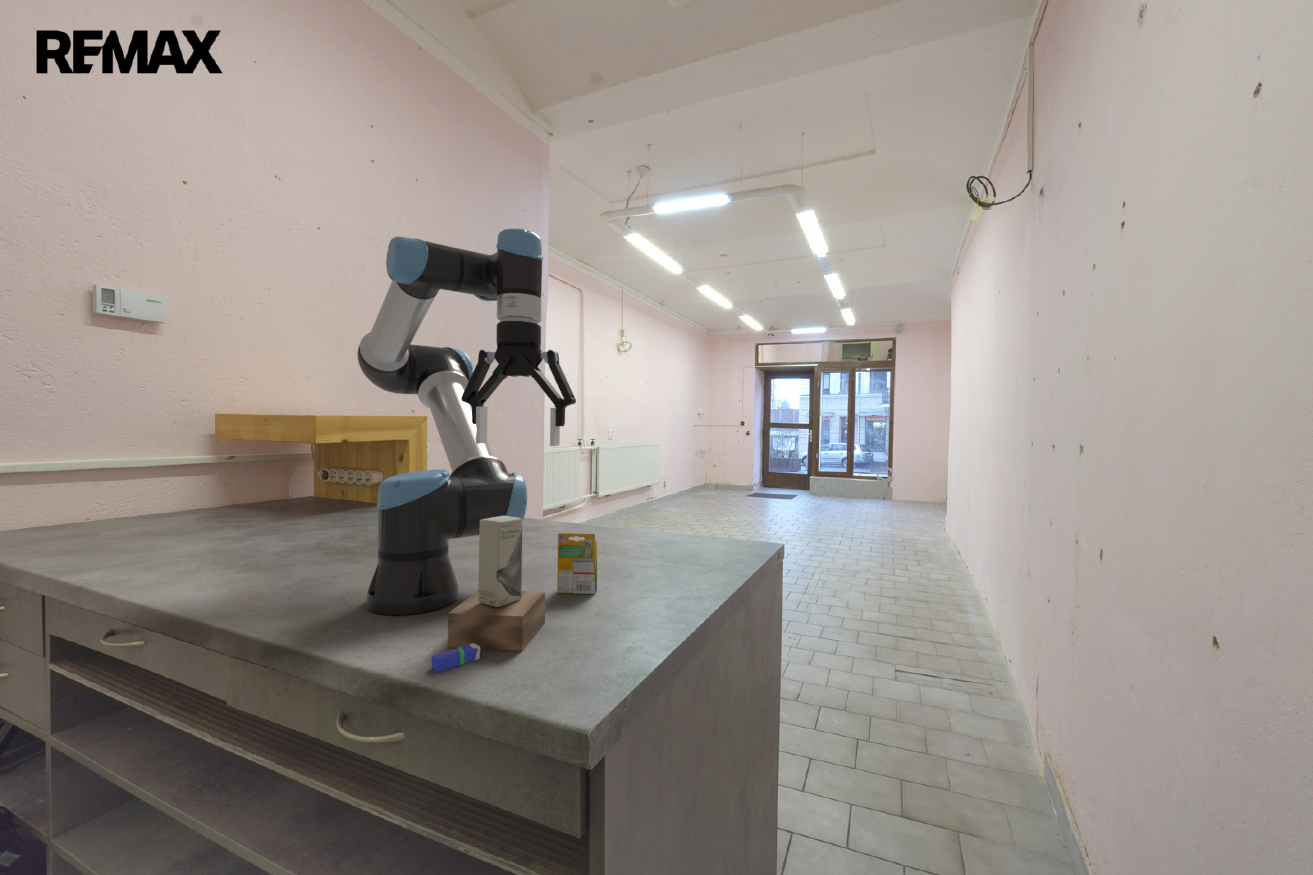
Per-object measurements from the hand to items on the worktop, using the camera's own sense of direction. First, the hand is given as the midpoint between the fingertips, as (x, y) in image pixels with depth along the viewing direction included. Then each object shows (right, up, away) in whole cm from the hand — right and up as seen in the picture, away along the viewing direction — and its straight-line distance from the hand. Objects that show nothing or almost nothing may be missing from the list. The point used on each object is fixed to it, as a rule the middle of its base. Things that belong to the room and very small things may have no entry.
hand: (517, 444), depth 94 cm
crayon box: (+9, -29, +10) cm, 32 cm away
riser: (0, -29, -12) cm, 31 cm away
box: (0, -24, -12) cm, 27 cm away
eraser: (-3, -30, -22) cm, 37 cm away
